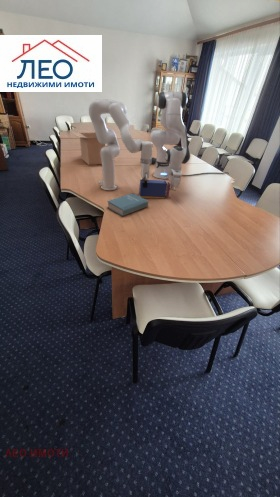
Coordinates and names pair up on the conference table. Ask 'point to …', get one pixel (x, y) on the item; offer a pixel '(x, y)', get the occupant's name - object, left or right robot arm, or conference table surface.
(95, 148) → the box
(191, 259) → the conference table surface
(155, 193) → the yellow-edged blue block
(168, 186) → the drawer
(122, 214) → the book
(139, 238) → the conference table surface
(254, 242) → the conference table surface
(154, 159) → the laser sight
